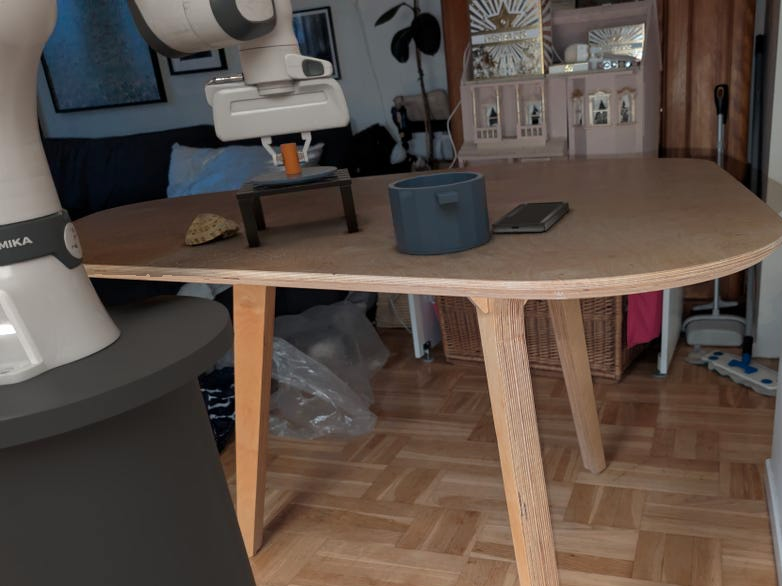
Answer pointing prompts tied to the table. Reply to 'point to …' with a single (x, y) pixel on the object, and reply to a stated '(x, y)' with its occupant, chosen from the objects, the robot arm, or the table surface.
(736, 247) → the table surface
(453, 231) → the pot
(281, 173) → the lid
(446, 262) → the table surface
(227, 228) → the seashell
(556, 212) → the phone
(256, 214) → the rack
